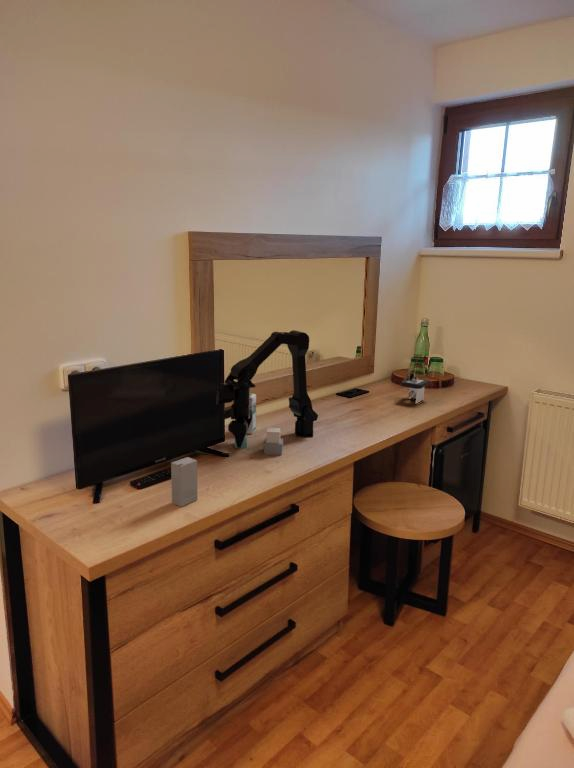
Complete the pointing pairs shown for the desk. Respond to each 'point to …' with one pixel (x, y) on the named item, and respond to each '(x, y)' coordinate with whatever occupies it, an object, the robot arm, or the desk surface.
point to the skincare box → (184, 481)
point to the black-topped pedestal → (415, 386)
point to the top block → (273, 435)
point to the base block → (273, 448)
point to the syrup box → (253, 408)
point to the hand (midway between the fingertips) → (240, 443)
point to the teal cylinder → (244, 444)
